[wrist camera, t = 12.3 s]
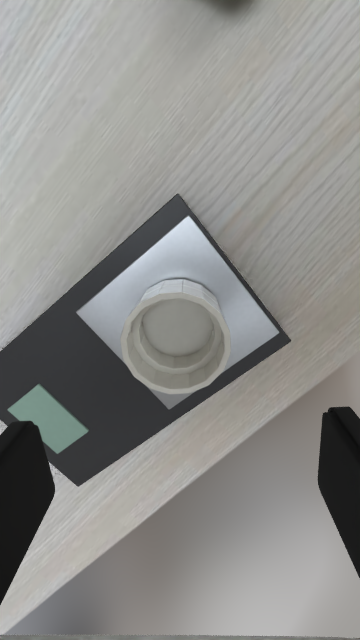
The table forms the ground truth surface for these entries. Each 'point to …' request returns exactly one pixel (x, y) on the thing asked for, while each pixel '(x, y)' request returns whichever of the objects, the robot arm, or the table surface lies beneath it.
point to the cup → (176, 337)
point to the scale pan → (171, 264)
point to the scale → (99, 369)
